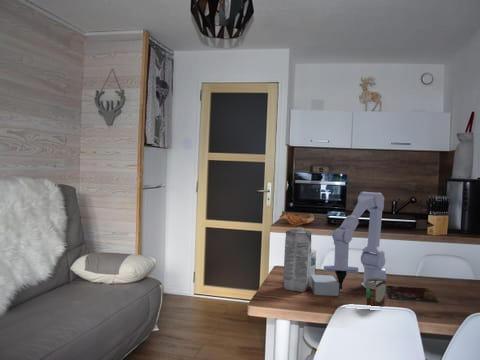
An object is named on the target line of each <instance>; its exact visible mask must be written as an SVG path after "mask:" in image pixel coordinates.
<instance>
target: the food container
mask: <svg viewBox="0 0 480 360" xmlns="http://www.w3.org/2000/svg"><path fill="white" fill-rule="evenodd" d="M387 284H388V283H387V278H386V279H381V278H369V279H367V280H366V281H365V286H366V288H365V290H366V292H365V293H366V306H367V305H371V306H382V307H383V306H385V304H386V302H385V301H386V293H387Z"/></svg>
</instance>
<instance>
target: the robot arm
mask: <svg viewBox="0 0 480 360" xmlns="http://www.w3.org/2000/svg"><path fill="white" fill-rule="evenodd" d="M384 206H385V196H384V195H383V193H381V192H372V191H371V192H370V191H361V192H360V193H359V195H358V196H357V204H356V205H355V207H354V209H353V211H352V213H351V214H350V215H347V216H345V219H344V220H343V222H342V223H341V225H340V226H339V227H338V228H336V229H335V230H334V231H333V233H332V240H333V245H334V263H333V265H323V272H335V275H336V279H337V280H338V282H339V283H340V290H342V289H343V283H344V280H345V278H346V277H347V275H348V273H355V274H359V267H356V266H355V267H354V266H349V246H350V243H351V241H352V240H353V235H354V231H355V230H356V228H357V227H358V225H359V222H360V221H359V219H360V217H361V216H362V215H363V214H364V212H365V211H366V210H367V211H368V212H369V224H368V235H367V245H366V246H365V247H364V248H363V249H362V253H361V255H360V262H361V264H362V267H363V282H361V283H360V284H361V286H363V288H365V289H366V286H365V281H366V280H367V279H369V278H381V279H387V272H386V271H387V270H386V268H384V266H385V265H386V258H385V257H386V256H385V252H384V250H383V249H382V248H381V247H380V243H381V241H380V240H381V232H382V231H381V228H382V218H383V217H382V216H383V211H384V208H385V207H384Z"/></svg>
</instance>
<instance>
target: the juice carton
mask: <svg viewBox="0 0 480 360" xmlns="http://www.w3.org/2000/svg"><path fill="white" fill-rule="evenodd" d="M284 239H285V240H284V241H285V242H284V259H283V261H284V262H283V287H284V290H287V291H292V292H299V293H304V292H305V291H306V290H307V289H308V288H309V286H310V282H309V281H310V262H311V250H312V232H311V230H304V227H296V229H294V228H293V229H289V230H286V231H285V238H284Z"/></svg>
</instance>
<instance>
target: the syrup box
mask: <svg viewBox="0 0 480 360" xmlns="http://www.w3.org/2000/svg"><path fill="white" fill-rule="evenodd" d="M316 261H317V251H316V250H315V249H311V262H310V278H311V275H316V266H317V264H316V263H317V262H316ZM309 283H310V281H309Z"/></svg>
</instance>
